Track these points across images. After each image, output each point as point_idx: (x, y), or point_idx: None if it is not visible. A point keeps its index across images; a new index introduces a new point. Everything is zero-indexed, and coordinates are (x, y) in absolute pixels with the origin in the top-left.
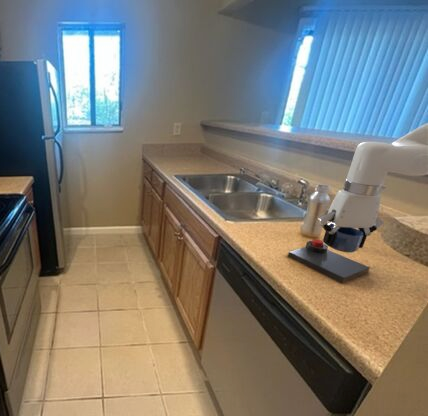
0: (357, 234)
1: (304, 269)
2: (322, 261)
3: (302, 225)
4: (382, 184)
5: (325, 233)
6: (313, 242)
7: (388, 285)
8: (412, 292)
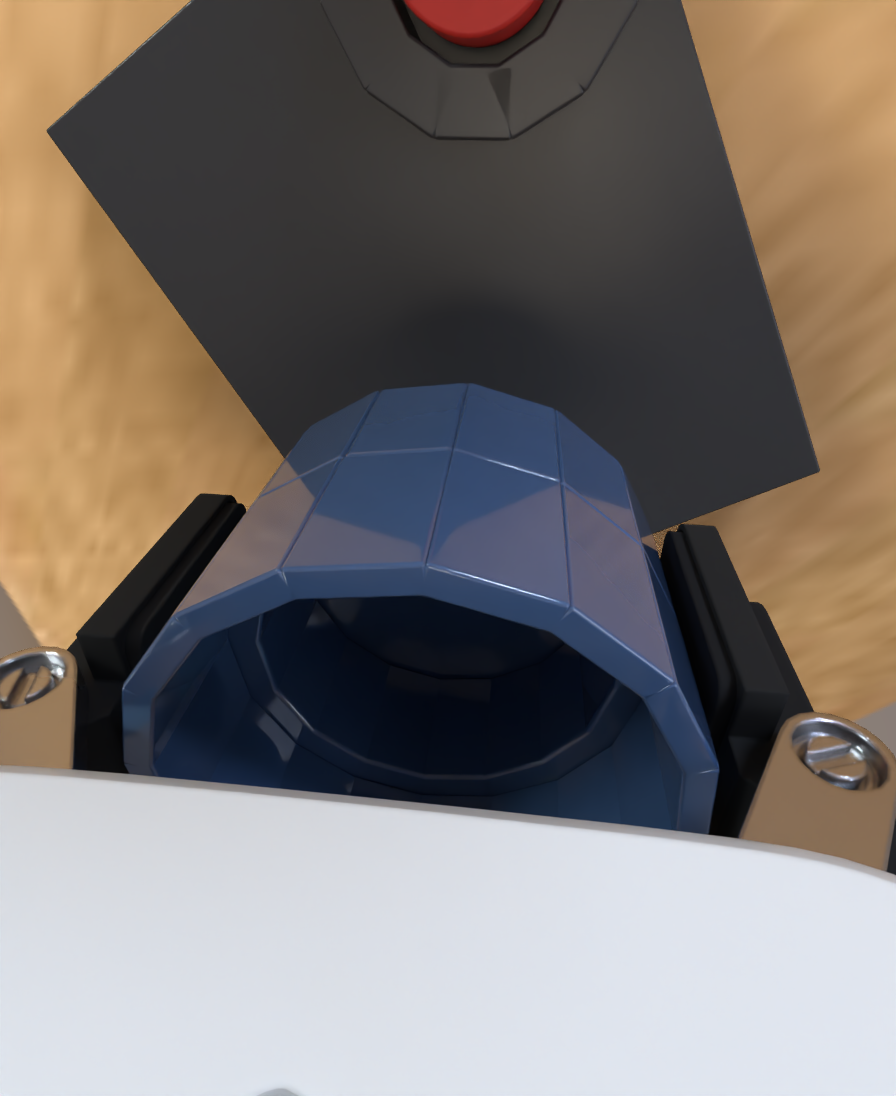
0: (660, 743)
1: (205, 410)
2: (373, 373)
3: None
4: None
5: (78, 653)
6: None
7: (773, 609)
8: (862, 677)
